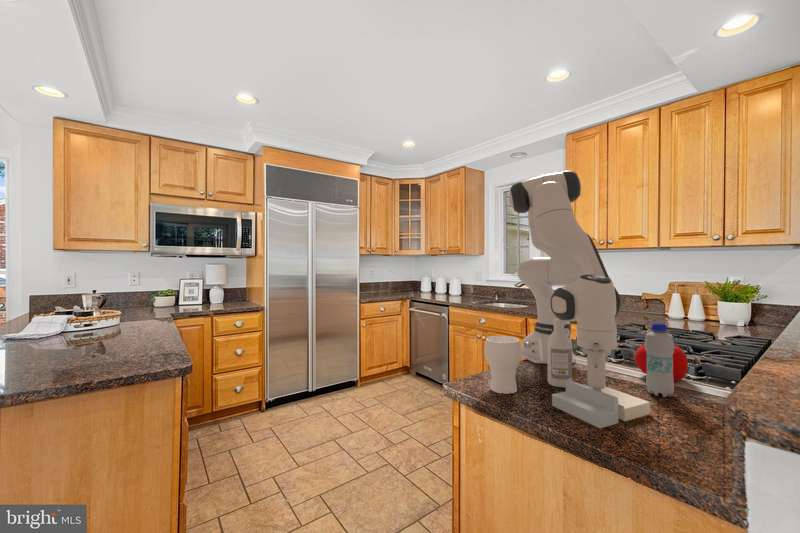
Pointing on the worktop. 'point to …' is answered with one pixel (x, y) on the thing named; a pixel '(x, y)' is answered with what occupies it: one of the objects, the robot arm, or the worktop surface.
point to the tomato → (678, 362)
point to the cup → (503, 362)
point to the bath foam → (559, 356)
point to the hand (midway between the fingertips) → (597, 394)
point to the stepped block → (587, 404)
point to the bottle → (659, 361)
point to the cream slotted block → (628, 405)
